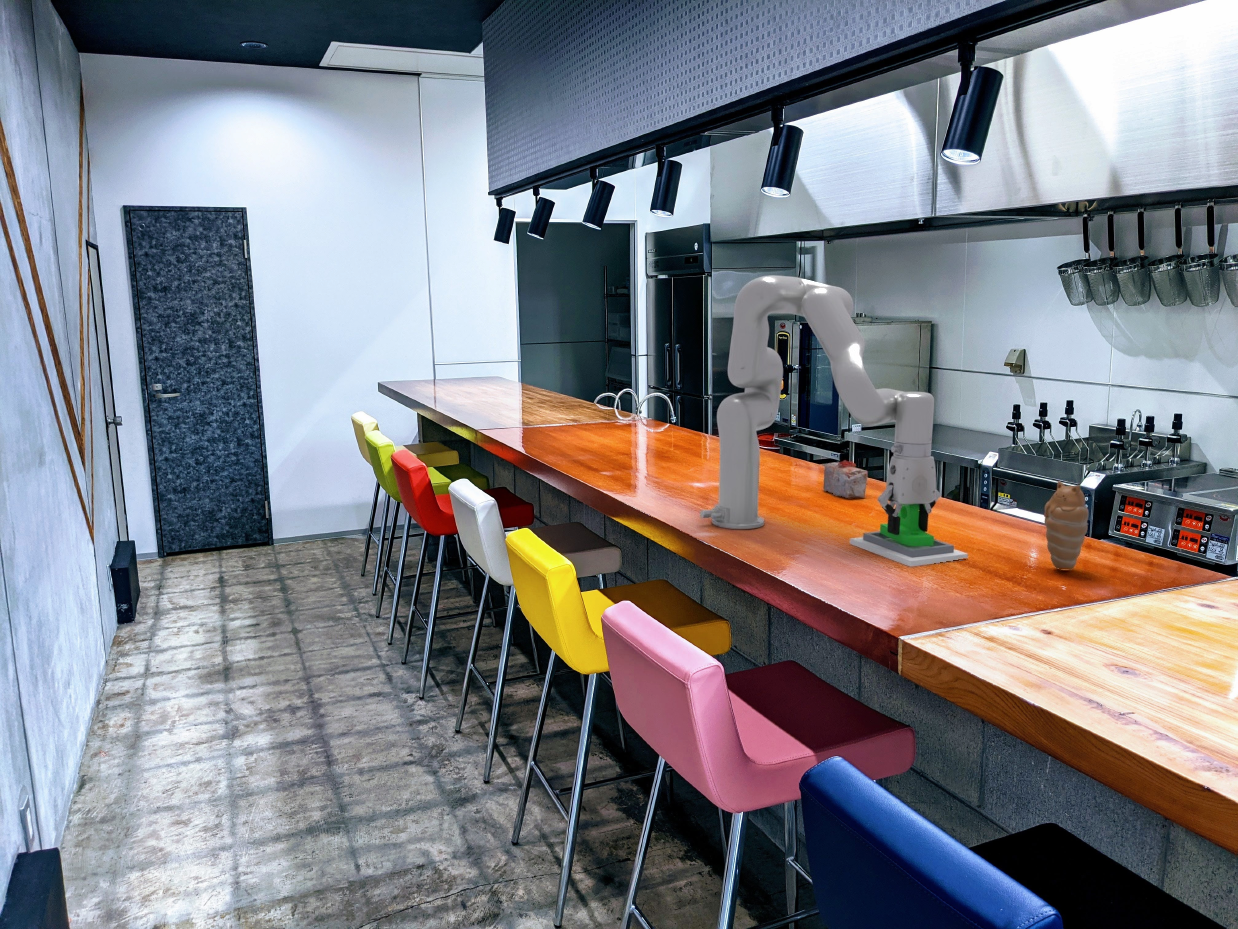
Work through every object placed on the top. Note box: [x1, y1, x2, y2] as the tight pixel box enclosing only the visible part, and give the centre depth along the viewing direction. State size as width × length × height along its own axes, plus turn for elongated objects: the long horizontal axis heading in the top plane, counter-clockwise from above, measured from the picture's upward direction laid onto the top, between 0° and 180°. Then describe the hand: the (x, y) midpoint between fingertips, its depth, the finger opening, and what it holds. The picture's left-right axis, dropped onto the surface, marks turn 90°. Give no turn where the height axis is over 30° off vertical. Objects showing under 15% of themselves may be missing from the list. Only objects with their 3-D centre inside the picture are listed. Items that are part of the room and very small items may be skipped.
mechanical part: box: [879, 504, 935, 546], centre depth 201 cm, size 12×6×8 cm, turn 12°
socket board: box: [849, 530, 969, 568], centre depth 201 cm, size 15×20×3 cm
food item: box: [822, 459, 869, 500], centre depth 260 cm, size 14×8×10 cm, turn 22°
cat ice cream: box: [1043, 480, 1089, 570], centre depth 185 cm, size 9×8×18 cm
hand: (907, 531), depth 201 cm, fingers open, 6 cm apart
